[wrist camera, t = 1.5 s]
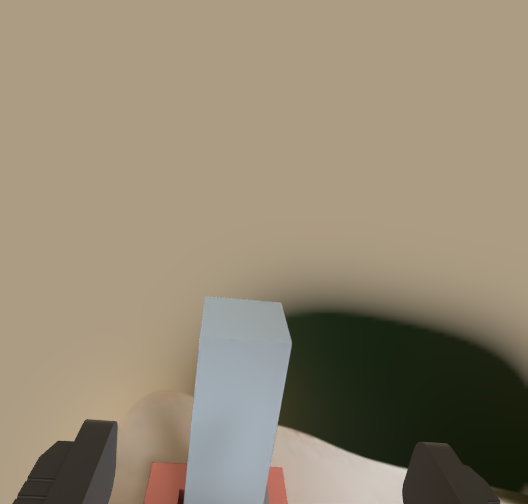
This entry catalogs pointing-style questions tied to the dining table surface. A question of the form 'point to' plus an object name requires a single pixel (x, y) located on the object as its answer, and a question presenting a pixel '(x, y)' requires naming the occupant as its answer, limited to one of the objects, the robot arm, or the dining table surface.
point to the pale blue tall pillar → (236, 400)
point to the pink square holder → (174, 480)
